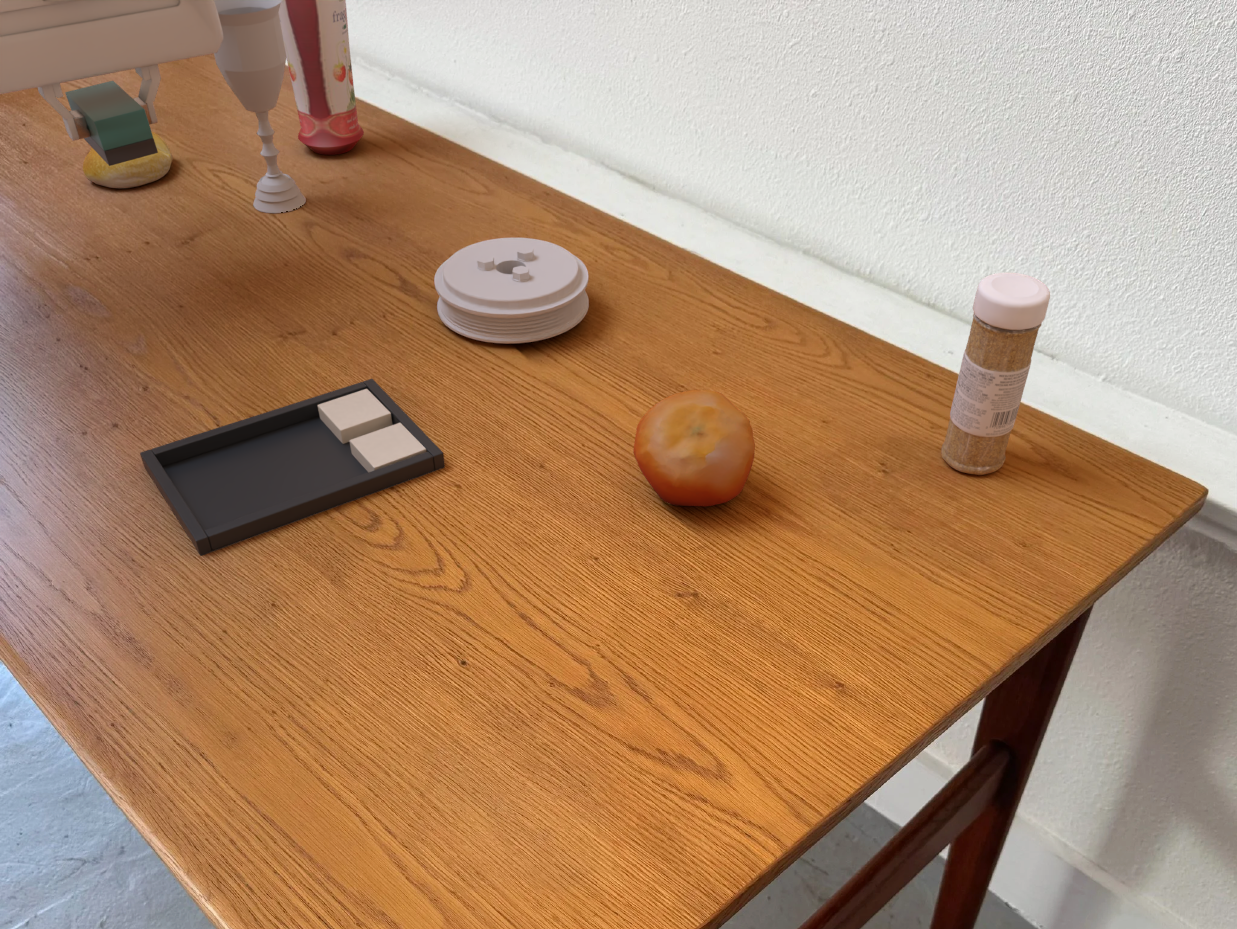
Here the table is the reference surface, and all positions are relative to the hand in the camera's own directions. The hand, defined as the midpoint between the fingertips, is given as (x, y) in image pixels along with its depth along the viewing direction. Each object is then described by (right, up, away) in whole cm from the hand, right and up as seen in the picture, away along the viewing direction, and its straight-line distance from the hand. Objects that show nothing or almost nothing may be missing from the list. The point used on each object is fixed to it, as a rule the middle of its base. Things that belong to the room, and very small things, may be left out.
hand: (114, 129), depth 96 cm
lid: (+32, -14, +4) cm, 35 cm away
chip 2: (+25, -28, -13) cm, 40 cm away
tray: (+18, -30, -13) cm, 37 cm away
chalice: (+8, +1, +20) cm, 21 cm away
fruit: (+46, -31, -14) cm, 57 cm away
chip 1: (+22, -25, -9) cm, 35 cm away
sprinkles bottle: (+66, -29, -11) cm, 73 cm away
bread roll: (-9, +6, +25) cm, 27 cm away
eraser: (0, -1, +1) cm, 1 cm away
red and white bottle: (+11, +10, +30) cm, 33 cm away
